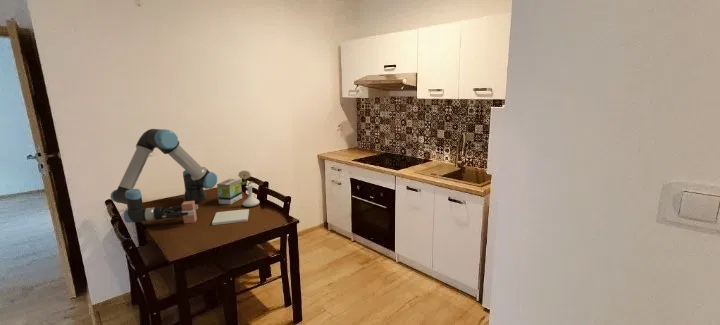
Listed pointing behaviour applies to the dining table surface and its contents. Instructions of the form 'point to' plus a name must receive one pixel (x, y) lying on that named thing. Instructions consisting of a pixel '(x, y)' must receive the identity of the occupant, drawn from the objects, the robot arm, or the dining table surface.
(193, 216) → the brick block
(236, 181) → the tea box
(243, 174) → the flower in vase
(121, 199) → the robot arm
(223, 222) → the grey board
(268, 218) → the dining table surface
